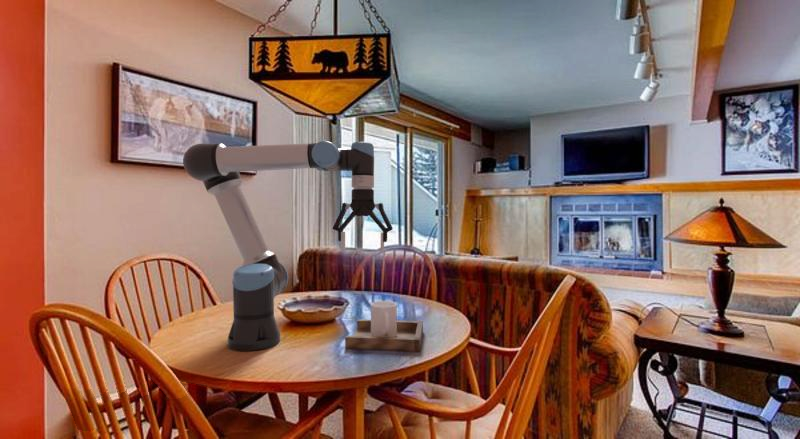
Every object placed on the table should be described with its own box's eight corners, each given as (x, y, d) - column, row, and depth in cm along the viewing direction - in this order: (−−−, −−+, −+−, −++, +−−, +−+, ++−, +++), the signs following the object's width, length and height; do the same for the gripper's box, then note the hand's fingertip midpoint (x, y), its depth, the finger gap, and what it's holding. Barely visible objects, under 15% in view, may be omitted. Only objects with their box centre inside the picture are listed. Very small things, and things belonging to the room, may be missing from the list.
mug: (400, 343, 120) (400, 309, 120) (373, 345, 119) (373, 311, 119) (394, 331, 132) (394, 300, 132) (369, 332, 131) (369, 301, 131)
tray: (345, 348, 118) (345, 337, 118) (358, 329, 136) (358, 319, 136) (419, 351, 116) (419, 339, 115) (422, 331, 134) (422, 321, 133)
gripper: (323, 188, 133) (323, 251, 134) (397, 188, 130) (397, 253, 131) (330, 189, 140) (330, 249, 141) (400, 189, 137) (400, 250, 138)
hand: (362, 251), depth 136 cm, fingers open, 13 cm apart
